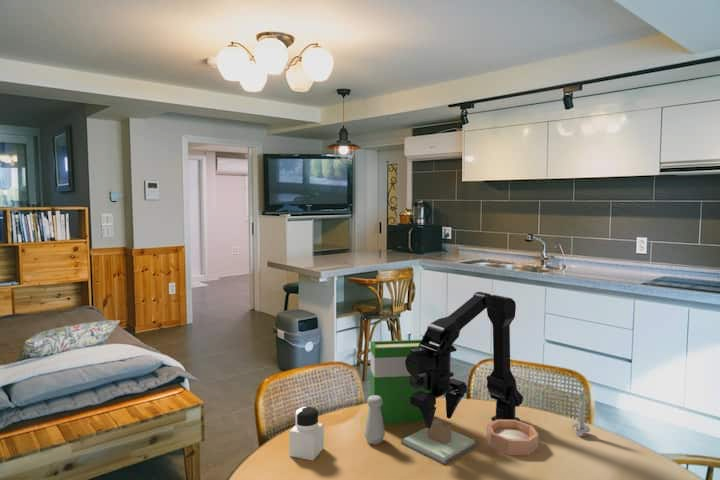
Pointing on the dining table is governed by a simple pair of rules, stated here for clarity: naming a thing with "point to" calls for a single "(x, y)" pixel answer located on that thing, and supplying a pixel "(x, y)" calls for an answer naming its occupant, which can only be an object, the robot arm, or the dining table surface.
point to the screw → (581, 418)
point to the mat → (435, 457)
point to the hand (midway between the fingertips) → (438, 422)
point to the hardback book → (394, 381)
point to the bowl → (512, 437)
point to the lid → (439, 440)
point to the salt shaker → (374, 421)
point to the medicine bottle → (306, 435)
